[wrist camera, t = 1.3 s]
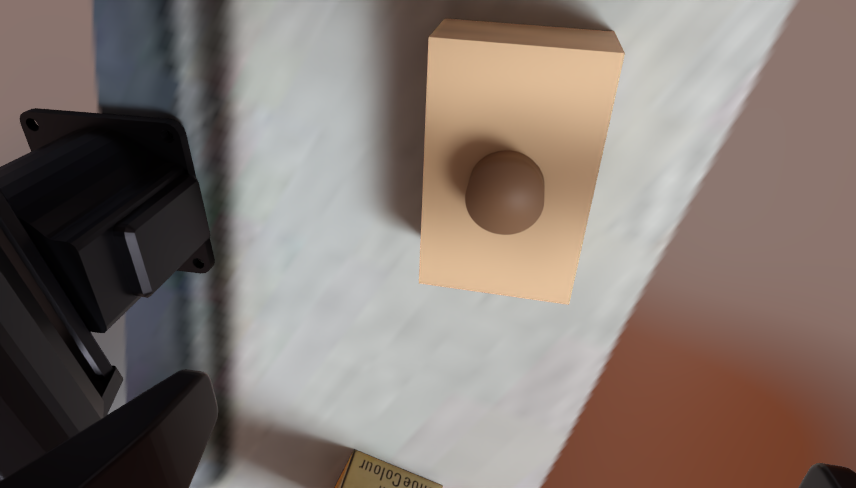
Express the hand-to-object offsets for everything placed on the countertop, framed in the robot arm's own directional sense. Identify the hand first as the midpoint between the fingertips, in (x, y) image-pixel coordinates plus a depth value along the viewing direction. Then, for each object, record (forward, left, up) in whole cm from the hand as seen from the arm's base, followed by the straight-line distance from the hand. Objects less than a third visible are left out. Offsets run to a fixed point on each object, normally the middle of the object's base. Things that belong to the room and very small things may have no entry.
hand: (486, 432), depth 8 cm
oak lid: (0, 0, -12) cm, 12 cm away
